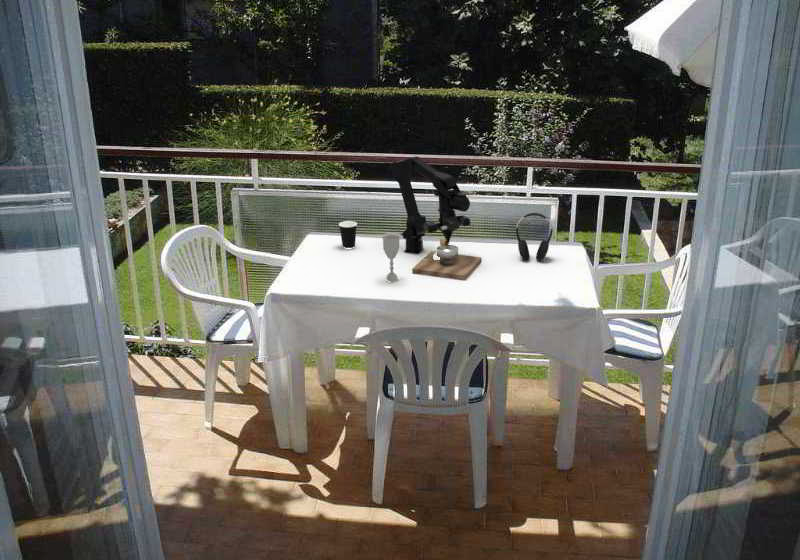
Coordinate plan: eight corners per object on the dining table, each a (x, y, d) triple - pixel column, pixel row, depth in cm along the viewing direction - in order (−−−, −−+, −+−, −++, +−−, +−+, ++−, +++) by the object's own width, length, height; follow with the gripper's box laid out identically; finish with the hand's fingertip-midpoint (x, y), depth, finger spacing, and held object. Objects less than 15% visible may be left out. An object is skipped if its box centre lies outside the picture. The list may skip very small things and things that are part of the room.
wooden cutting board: (412, 273, 307) (412, 261, 305) (431, 255, 325) (431, 244, 324) (465, 280, 299) (465, 268, 297) (481, 261, 318) (481, 250, 316)
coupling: (460, 258, 307) (460, 250, 306) (439, 259, 306) (439, 251, 305) (452, 245, 321) (452, 238, 320) (432, 246, 320) (432, 239, 319)
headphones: (550, 264, 314) (553, 216, 307) (514, 262, 317) (516, 215, 309) (550, 256, 322) (553, 210, 315) (515, 255, 325) (517, 209, 317)
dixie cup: (361, 247, 336) (360, 223, 332) (347, 252, 331) (346, 227, 327) (349, 243, 341) (348, 219, 337) (336, 248, 336) (334, 223, 332)
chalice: (387, 284, 296) (386, 239, 290) (379, 278, 302) (378, 234, 295) (404, 280, 299) (403, 236, 293) (396, 275, 305) (395, 231, 298)
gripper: (432, 216, 301) (434, 253, 307) (475, 208, 307) (477, 245, 313) (421, 209, 311) (424, 245, 317) (463, 201, 317) (465, 237, 323)
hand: (447, 243), depth 317 cm, fingers closed
